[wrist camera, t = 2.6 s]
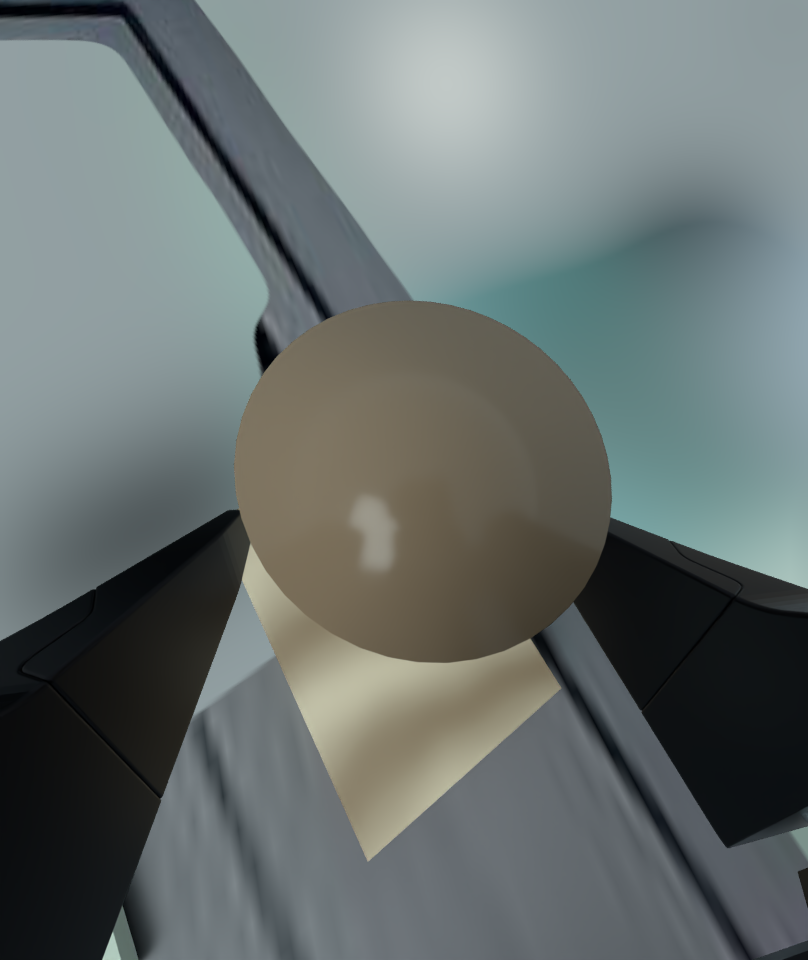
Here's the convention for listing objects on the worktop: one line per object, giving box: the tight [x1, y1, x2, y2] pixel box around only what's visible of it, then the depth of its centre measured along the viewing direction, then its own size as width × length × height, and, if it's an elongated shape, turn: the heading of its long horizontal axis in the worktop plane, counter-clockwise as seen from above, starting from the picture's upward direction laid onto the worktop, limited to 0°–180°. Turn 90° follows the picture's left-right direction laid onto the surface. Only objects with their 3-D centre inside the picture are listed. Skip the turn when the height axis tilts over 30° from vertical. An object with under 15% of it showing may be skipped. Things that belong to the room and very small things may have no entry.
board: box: [237, 509, 561, 861], centre depth 16 cm, size 16×11×2 cm
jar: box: [234, 301, 612, 663], centre depth 10 cm, size 6×6×12 cm
